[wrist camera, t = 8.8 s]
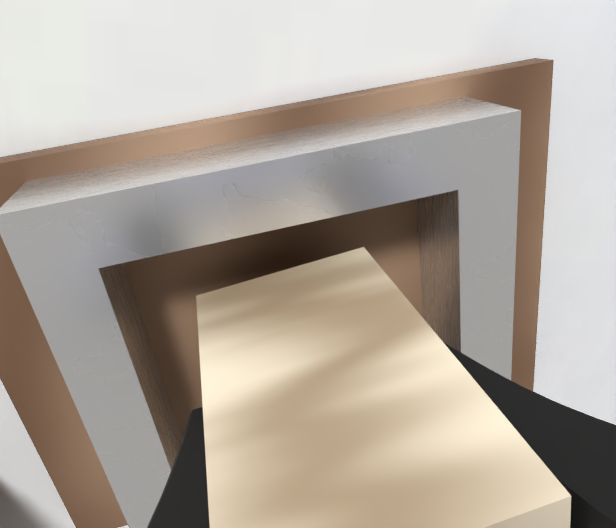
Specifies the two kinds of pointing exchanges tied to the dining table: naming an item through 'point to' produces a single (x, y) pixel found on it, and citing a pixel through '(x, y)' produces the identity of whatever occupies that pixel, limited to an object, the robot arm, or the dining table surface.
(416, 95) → the collar board
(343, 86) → the dining table surface
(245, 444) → the peg
